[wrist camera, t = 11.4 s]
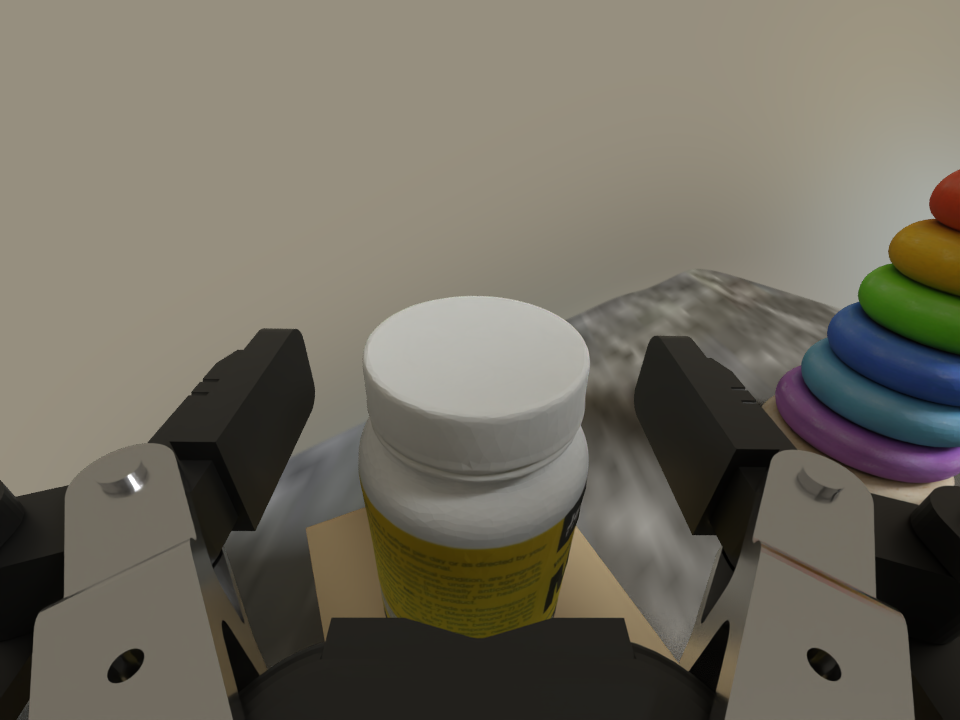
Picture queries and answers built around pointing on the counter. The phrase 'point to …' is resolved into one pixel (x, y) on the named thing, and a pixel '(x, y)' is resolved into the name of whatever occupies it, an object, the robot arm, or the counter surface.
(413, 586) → the supplement bottle
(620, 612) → the oak block
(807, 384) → the stacking toy
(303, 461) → the counter surface
